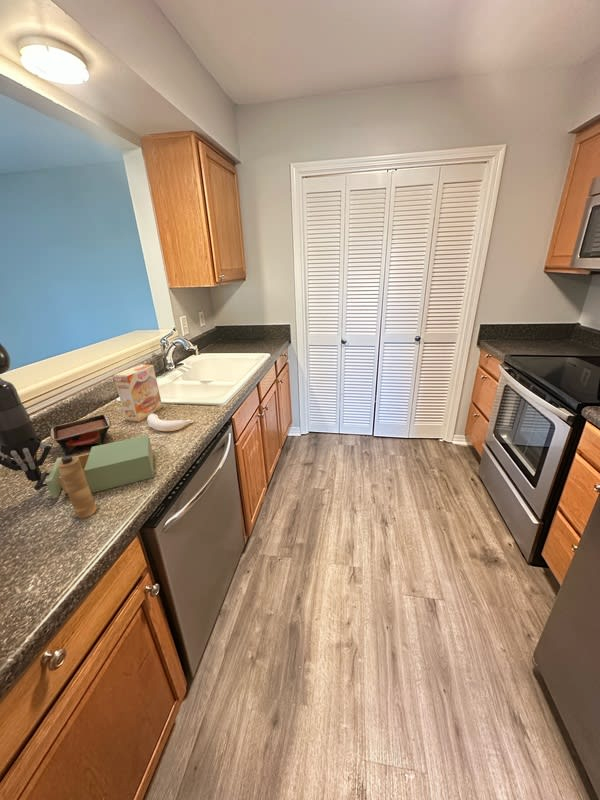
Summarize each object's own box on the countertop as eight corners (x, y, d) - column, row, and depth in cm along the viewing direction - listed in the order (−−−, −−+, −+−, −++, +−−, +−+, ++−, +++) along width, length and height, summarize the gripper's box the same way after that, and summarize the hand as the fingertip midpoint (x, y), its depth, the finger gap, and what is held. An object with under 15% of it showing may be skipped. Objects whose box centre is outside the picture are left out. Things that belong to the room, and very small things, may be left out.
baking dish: (113, 450, 114) (111, 423, 111) (50, 459, 104) (45, 430, 102) (111, 437, 125) (109, 412, 123) (54, 444, 116) (50, 417, 114)
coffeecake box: (139, 421, 130) (127, 375, 122) (124, 420, 132) (112, 374, 124) (163, 407, 143) (153, 364, 135) (150, 405, 145) (140, 363, 137)
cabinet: (91, 493, 88) (83, 470, 86) (98, 467, 100) (91, 446, 97) (153, 477, 94) (148, 455, 91) (153, 454, 106) (148, 434, 103)
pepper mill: (74, 520, 79) (52, 464, 73) (78, 509, 82) (57, 455, 76) (95, 514, 80) (75, 459, 74) (97, 504, 84) (79, 451, 78)
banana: (141, 422, 129) (177, 411, 138) (160, 440, 116) (198, 426, 125) (139, 411, 127) (175, 400, 136) (157, 428, 114) (196, 415, 123)
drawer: (34, 503, 84) (27, 486, 82) (47, 477, 95) (41, 461, 93) (114, 483, 90) (109, 466, 88) (118, 460, 101) (113, 445, 99)
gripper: (-30, 435, 76) (1, 495, 83) (38, 423, 80) (61, 480, 87) (-16, 423, 82) (11, 479, 89) (46, 411, 87) (67, 466, 94)
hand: (36, 479), depth 88 cm, fingers closed
